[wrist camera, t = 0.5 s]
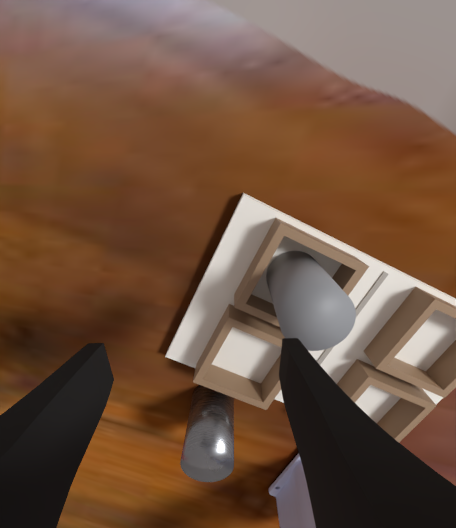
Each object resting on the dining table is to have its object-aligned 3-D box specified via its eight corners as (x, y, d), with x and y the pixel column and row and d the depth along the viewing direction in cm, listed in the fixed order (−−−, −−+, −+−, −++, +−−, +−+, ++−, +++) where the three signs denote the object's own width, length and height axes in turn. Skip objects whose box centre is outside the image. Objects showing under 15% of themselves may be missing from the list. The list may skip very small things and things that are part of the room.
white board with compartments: (388, 435, 26) (440, 524, 20) (168, 349, 23) (142, 420, 16) (501, 321, 21) (620, 388, 15) (243, 192, 18) (248, 205, 12)
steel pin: (223, 418, 26) (220, 487, 20) (186, 405, 25) (172, 472, 20) (240, 391, 25) (242, 456, 19) (202, 376, 24) (192, 439, 18)
